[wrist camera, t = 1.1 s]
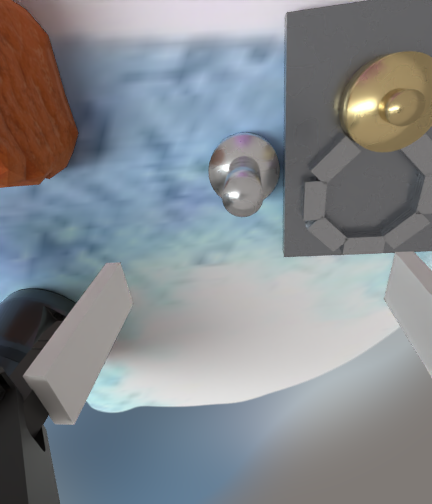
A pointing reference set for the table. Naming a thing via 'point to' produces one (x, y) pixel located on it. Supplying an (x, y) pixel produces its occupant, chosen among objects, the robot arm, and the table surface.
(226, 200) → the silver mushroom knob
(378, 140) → the gold cymbal
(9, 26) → the bread
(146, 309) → the table surface
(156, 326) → the table surface
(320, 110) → the carrier plate
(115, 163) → the table surface
